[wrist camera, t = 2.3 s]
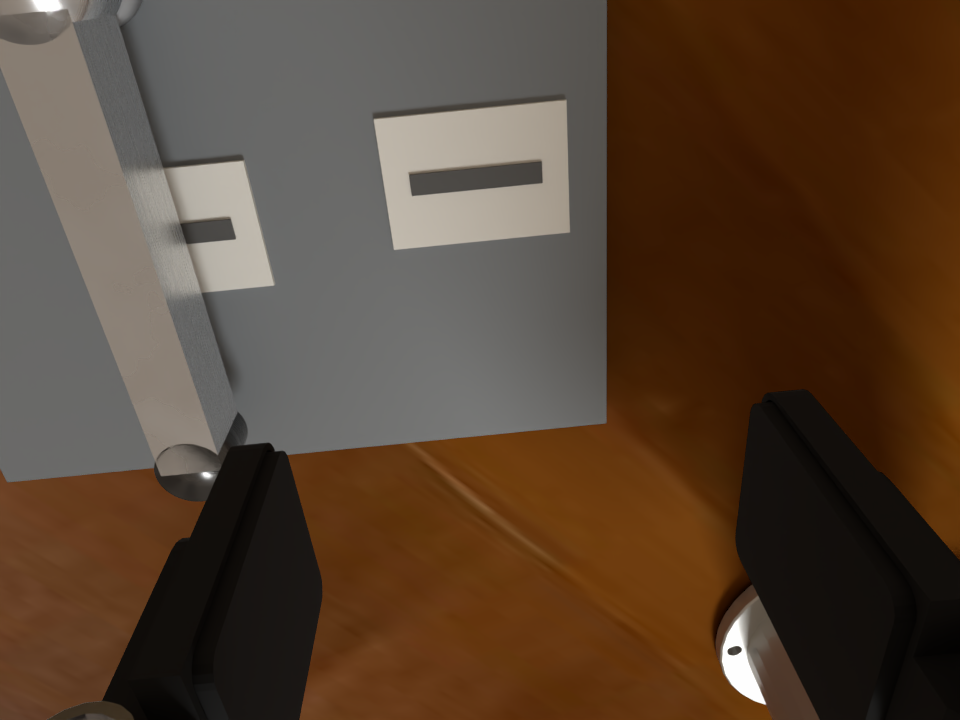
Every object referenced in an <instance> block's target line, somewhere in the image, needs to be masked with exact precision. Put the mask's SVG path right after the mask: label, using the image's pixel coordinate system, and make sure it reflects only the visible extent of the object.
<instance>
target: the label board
mask: <svg viewBox="0 0 960 720" xmlns="http://www.w3.org/2000/svg"><path fill="white" fill-rule="evenodd" d="M116 17H117V20H118V24H119V27H120V30H121V33H122V37H123V40H124V43H125V46H126V50H127V53H128V56H129V59H130V63H131V66H132V69H133V72H134V76H135V79H136V82H137V85H138V89H139V92H140V95H141V98H142V102H143V105H144V108H145V111H146V115H147V118H148V121H149V124H150V128H151V131H152V134H153V137H154V141H155V144H156V147H157V150H158V154H159V157H160V160H161V163H162V167H163V170H164V173H165V176H166V180H167V183H168V186H169V189H170V193H171V196H172V199H173V202H174V206H175V209H176V212H177V215H178V219H179V222H180V225H181V228H182V232H183V235H184V238H185V241H186V245H187V248H188V251H189V254H190V258H191V261H192V264H193V267H194V271H195V274H196V277H197V280H198V284H199V287H200V290H201V293H202V297H203V300H204V303H205V306H206V310H207V313H208V316H209V319H210V323H211V326H212V329H213V332H214V336H215V339H216V342H217V345H218V349H219V352H220V355H221V358H222V362H223V365H224V368H225V371H226V375H227V378H228V381H229V384H230V388H231V391H232V394H233V397H234V401H235V404H236V407H237V410H238V412H239V413H240V414H241V415H242V417H243V418H244V420H245V422H246V424H247V428H248V436H247V440H246V442H245V444H244V445H248V444H258V443H268V442H269V443H271V444H272V446H273V447H274V449H275V451H285V452H286V454H287V455H289V454H299V453H309V452H320V451H330V450H340V449H350V448H360V447H370V446H381V445H391V444H401V443H411V442H421V441H431V440H442V439H452V438H462V437H472V436H482V435H492V434H502V433H513V432H523V431H533V430H543V429H553V428H563V427H574V426H584V425H594V424H604V423H606V372H607V0H122V2H121V6H120V8H119V10H118V13H117V14H116ZM154 464H155V460H154V457H153V455H152V452H151V450H150V447H149V444H148V442H147V439H146V437H145V434H144V432H143V429H142V427H141V424H140V422H139V419H138V416H137V414H136V411H135V409H134V406H133V404H132V401H131V399H130V396H129V394H128V391H127V388H126V386H125V383H124V381H123V378H122V376H121V373H120V371H119V368H118V366H117V363H116V361H115V358H114V355H113V353H112V350H111V348H110V345H109V343H108V340H107V338H106V335H105V333H104V330H103V327H102V325H101V322H100V320H99V317H98V315H97V312H96V310H95V307H94V305H93V302H92V300H91V297H90V294H89V292H88V289H87V287H86V284H85V282H84V279H83V277H82V274H81V272H80V269H79V266H78V264H77V261H76V259H75V256H74V254H73V251H72V249H71V246H70V244H69V241H68V238H67V236H66V233H65V231H64V228H63V226H62V223H61V221H60V218H59V216H58V213H57V211H56V208H55V205H54V203H53V200H52V198H51V195H50V193H49V190H48V188H47V185H46V183H45V180H44V177H43V175H42V172H41V170H40V167H39V165H38V162H37V160H36V157H35V155H34V152H33V150H32V147H31V144H30V142H29V139H28V137H27V134H26V132H25V129H24V127H23V124H22V122H21V119H20V116H19V114H18V111H17V109H16V106H15V104H14V101H13V99H12V96H11V94H10V91H9V88H8V86H7V83H6V81H5V78H4V76H3V73H2V71H1V68H0V469H1V471H2V473H3V475H4V477H5V479H6V480H7V482H15V481H25V480H35V479H45V478H56V477H66V476H76V475H86V474H96V473H106V472H117V471H127V470H137V469H147V468H154Z"/></svg>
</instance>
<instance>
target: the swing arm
mask: <svg viewBox="0 0 960 720" xmlns="http://www.w3.org/2000/svg"><path fill="white" fill-rule="evenodd" d="M121 2H122V0H0V68H1V71H2V73H3V76H4V78H5V81H6V83H7V86H8V88H9V91H10V94H11V96H12V99H13V101H14V104H15V106H16V109H17V111H18V114H19V116H20V119H21V122H22V124H23V127H24V129H25V132H26V134H27V137H28V139H29V142H30V144H31V147H32V150H33V152H34V155H35V157H36V160H37V162H38V165H39V167H40V170H41V172H42V175H43V177H44V180H45V183H46V185H47V188H48V190H49V193H50V195H51V198H52V200H53V203H54V205H55V208H56V211H57V213H58V216H59V218H60V221H61V223H62V226H63V228H64V231H65V233H66V236H67V238H68V241H69V244H70V246H71V249H72V251H73V254H74V256H75V259H76V261H77V264H78V266H79V269H80V272H81V274H82V277H83V279H84V282H85V284H86V287H87V289H88V292H89V294H90V297H91V300H92V302H93V305H94V307H95V310H96V312H97V315H98V317H99V320H100V322H101V325H102V327H103V330H104V333H105V335H106V338H107V340H108V343H109V345H110V348H111V350H112V353H113V355H114V358H115V361H116V363H117V366H118V368H119V371H120V373H121V376H122V378H123V381H124V383H125V386H126V388H127V391H128V394H129V396H130V399H131V401H132V404H133V406H134V409H135V411H136V414H137V416H138V419H139V422H140V424H141V427H142V429H143V432H144V434H145V437H146V439H147V442H148V444H149V447H150V450H151V452H152V455H153V457H154V460H155V464H154V472H155V476H156V478H157V480H158V482H159V483H160V485H161V486H162V487H163V488H164V489H165V490H166V491H168V492H169V493H171V494H172V495H174V496H176V497H178V498H181V499H184V500H188V501H206V500H207V498H208V496H209V493H210V491H211V489H212V486H213V484H214V482H215V480H216V477H217V475H218V473H219V471H220V468H221V466H222V464H223V461H224V459H225V457H226V455H227V452H228V450H229V449H230V447H232V446H238V445H244V444H245V442H246V440H247V436H248V428H247V424H246V422H245V420H244V418H243V417H242V415H241V414H240V413H239V412H238V410H237V407H236V404H235V401H234V397H233V394H232V391H231V388H230V384H229V381H228V378H227V375H226V371H225V368H224V365H223V362H222V358H221V355H220V352H219V349H218V345H217V342H216V339H215V336H214V332H213V329H212V326H211V323H210V319H209V316H208V313H207V310H206V306H205V303H204V300H203V297H202V293H201V290H200V287H199V284H198V280H197V277H196V274H195V271H194V267H193V264H192V261H191V258H190V254H189V251H188V248H187V245H186V241H185V238H184V235H183V232H182V228H181V225H180V222H179V219H178V215H177V212H176V209H175V206H174V202H173V199H172V196H171V193H170V189H169V186H168V183H167V180H166V176H165V173H164V170H163V167H162V163H161V160H160V157H159V154H158V150H157V147H156V144H155V141H154V137H153V134H152V131H151V128H150V124H149V121H148V118H147V115H146V111H145V108H144V105H143V102H142V98H141V95H140V92H139V89H138V85H137V82H136V79H135V76H134V72H133V69H132V66H131V63H130V59H129V56H128V53H127V50H126V46H125V43H124V40H123V37H122V33H121V30H120V27H119V24H118V20H117V17H116V14H117V13H118V10H119V8H120V6H121Z"/></svg>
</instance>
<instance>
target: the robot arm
mask: <svg viewBox="0 0 960 720" xmlns="http://www.w3.org/2000/svg"><path fill="white" fill-rule="evenodd" d="M736 547H737V552H738V555H739V558H740V560H741V562H742V564H743V566H744V568H745V570H746V572H747V574H748V576H749V578H750V580H751V582H752V585H751V586H749V587H748V588H747V589H746V590H745V591H744V592H743V593H742V594H741V595H740V596H739V597H738V598H737V599H736V600H735V601H734V602H733V604H732V605H731V606H730V608H729V609H728V610H727V612H726V613H725V615H724V617H723V619H722V621H721V623H720V625H719V628H718V631H717V637H716V642H715V644H716V654H717V657H718V660H719V663H720V665H721V668H722V671H723V673H724V675H725V677H726V678H727V680H728V681H729V683H730V684H731V685H732V686H733V687H734V688H735V689H736V690H737V691H738V692H739V693H741V694H743V695H744V696H746V697H748V698H750V699H752V700H754V701H757V702H759V703H762V704H765V705H767V708H768V710H769V712H770V715H771V717H772V719H773V720H960V561H959V560H958V558H957V557H956V556H955V555H954V554H953V553H952V551H951V550H950V549H949V548H948V547H947V546H946V544H945V543H944V542H943V541H942V540H941V539H940V537H939V536H938V535H937V534H936V533H935V532H934V531H933V529H932V528H931V527H930V526H929V525H928V524H927V522H926V521H925V520H924V519H923V518H922V517H921V515H920V514H919V513H918V512H917V511H916V510H915V508H914V507H913V506H912V505H911V504H910V503H909V502H908V500H907V499H906V498H905V497H904V496H903V495H902V493H901V492H900V491H899V490H898V489H897V488H896V486H895V485H894V484H893V483H892V482H891V481H890V480H889V479H888V478H887V477H886V476H885V475H884V474H883V473H881V472H878V471H877V470H876V469H875V468H874V467H873V466H872V464H871V463H870V462H869V461H868V460H867V459H866V457H865V456H864V455H863V454H862V453H861V452H860V450H859V449H858V448H857V447H856V446H855V445H854V443H853V442H852V441H851V440H850V439H849V437H848V436H847V435H846V434H845V433H844V432H843V430H842V429H841V428H840V427H839V426H838V425H837V423H836V422H835V421H834V420H833V419H832V418H831V416H830V415H829V414H828V413H827V412H826V410H825V409H824V408H823V407H822V406H821V405H820V403H819V402H818V401H817V400H816V399H815V398H814V396H813V395H812V394H811V393H810V392H809V391H807V390H804V389H801V390H791V391H781V392H771V393H767V394H765V395H764V397H763V399H762V402H761V403H757V404H754V405H753V406H752V408H751V412H750V419H749V428H748V436H747V444H746V452H745V461H744V469H743V477H742V486H741V494H740V502H739V511H738V519H737V527H736ZM321 602H322V579H321V575H320V571H319V567H318V564H317V560H316V557H315V553H314V549H313V546H312V542H311V539H310V535H309V531H308V528H307V524H306V521H305V517H304V513H303V510H302V506H301V503H300V499H299V495H298V492H297V488H296V485H295V481H294V477H293V474H292V470H291V467H290V463H289V459H288V456H287V454H286V452H285V451H275V449H274V447H273V446H272V444H271V443H269V442H268V443H258V444H248V445H238V446H232V447H230V449H229V450H228V452H227V455H226V457H225V459H224V461H223V464H222V466H221V468H220V471H219V473H218V475H217V477H216V480H215V482H214V484H213V486H212V489H211V491H210V493H209V496H208V498H207V500H206V502H205V505H204V507H203V509H202V512H201V514H200V516H199V518H198V521H197V523H196V525H195V528H194V530H193V532H192V534H191V537H190V538H182V539H181V540H179V541H178V542H176V544H175V546H174V547H173V549H172V550H171V552H170V554H169V557H168V559H167V561H166V563H165V565H164V568H163V570H162V572H161V574H160V576H159V578H158V581H157V583H156V585H155V587H154V589H153V591H152V594H151V596H150V598H149V600H148V602H147V604H146V607H145V609H144V611H143V613H142V615H141V617H140V620H139V622H138V624H137V626H136V628H135V630H134V633H133V635H132V637H131V639H130V641H129V643H128V646H127V648H126V650H125V652H124V654H123V657H122V659H121V661H120V663H119V665H118V667H117V670H116V672H115V674H114V676H113V678H112V680H111V683H110V685H109V687H108V689H107V691H106V693H105V696H104V698H103V700H102V701H99V702H88V703H83V704H80V705H77V706H74V707H71V708H68V709H66V710H63V711H61V712H60V713H58V714H56V715H54V716H53V717H51V718H49V719H47V720H299V718H300V713H301V708H302V702H303V697H304V692H305V686H306V681H307V676H308V671H309V665H310V660H311V655H312V649H313V644H314V639H315V634H316V628H317V623H318V618H319V612H320V607H321Z"/></svg>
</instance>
